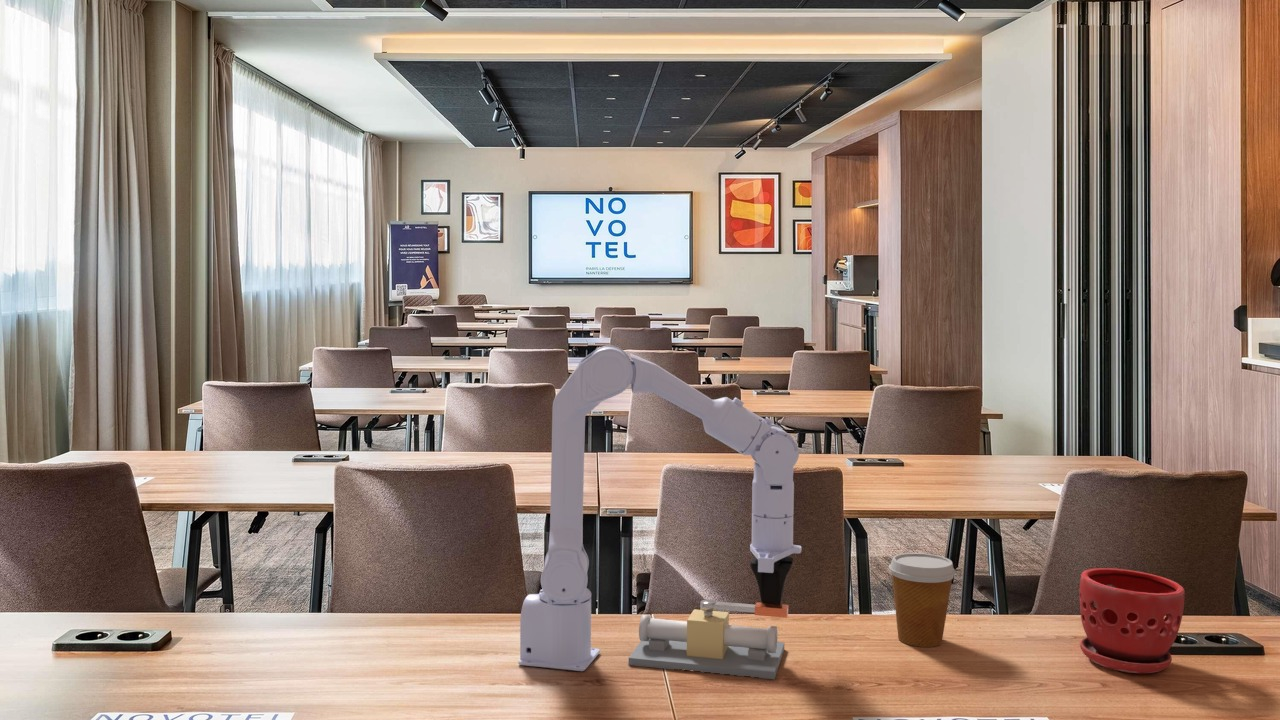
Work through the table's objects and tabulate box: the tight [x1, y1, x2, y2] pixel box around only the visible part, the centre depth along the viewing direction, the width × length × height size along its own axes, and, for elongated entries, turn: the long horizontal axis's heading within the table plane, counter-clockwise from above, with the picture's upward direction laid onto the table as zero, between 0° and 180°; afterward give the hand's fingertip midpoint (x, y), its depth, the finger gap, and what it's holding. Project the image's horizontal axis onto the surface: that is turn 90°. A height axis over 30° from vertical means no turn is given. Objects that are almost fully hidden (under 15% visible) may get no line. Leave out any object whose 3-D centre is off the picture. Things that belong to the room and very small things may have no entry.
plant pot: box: [1078, 567, 1186, 674], centre depth 143 cm, size 13×13×12 cm
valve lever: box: [699, 599, 789, 619], centre depth 142 cm, size 12×2×1 cm, turn 76°
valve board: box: [628, 609, 785, 681], centre depth 144 cm, size 20×12×7 cm, turn 76°
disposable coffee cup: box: [888, 552, 956, 648], centre depth 152 cm, size 10×10×12 cm
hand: (771, 610), depth 143 cm, fingers closed
